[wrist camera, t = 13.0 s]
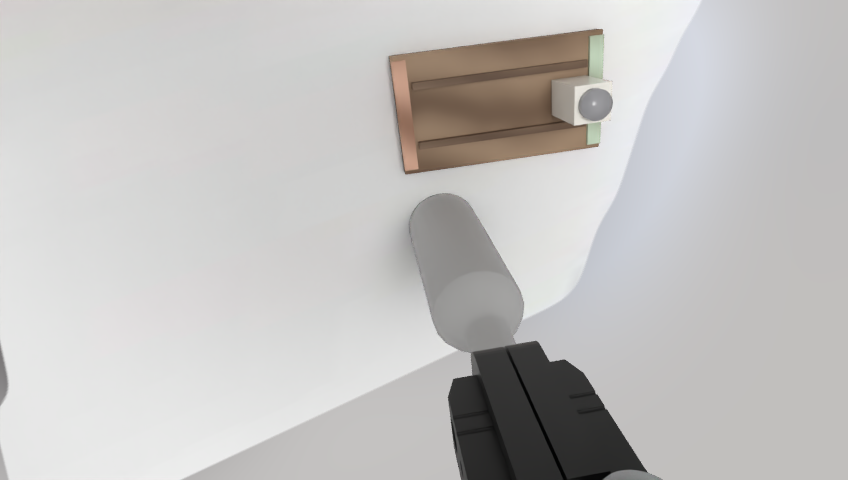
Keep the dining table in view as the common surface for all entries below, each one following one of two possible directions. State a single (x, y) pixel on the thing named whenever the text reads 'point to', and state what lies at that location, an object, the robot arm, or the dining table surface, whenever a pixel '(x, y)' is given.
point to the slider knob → (582, 99)
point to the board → (491, 100)
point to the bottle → (464, 276)
